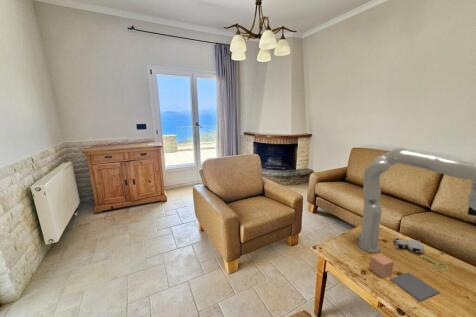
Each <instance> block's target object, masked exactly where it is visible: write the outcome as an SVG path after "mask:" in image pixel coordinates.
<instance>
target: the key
mask: <svg viewBox="0 0 476 317" xmlns="http://www.w3.org/2000/svg"><path fill="white" fill-rule="evenodd" d="M419 257H420V258H422V259H425V260H427V261H429V262H430V263H432V264H433V265H435V268H436V269H437V270H440V271H448V270H449V266H448V264H446V263H445V262H437V261H435V260H433V259H430V258H429V257H427V256H426V255H423V254H421V255H420V256H419ZM440 265H442V266H444V267H445V268H441V267H439V266H440Z"/></svg>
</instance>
